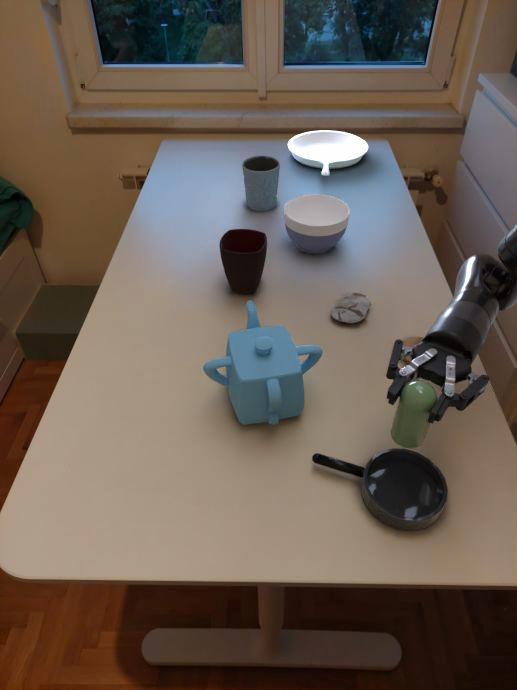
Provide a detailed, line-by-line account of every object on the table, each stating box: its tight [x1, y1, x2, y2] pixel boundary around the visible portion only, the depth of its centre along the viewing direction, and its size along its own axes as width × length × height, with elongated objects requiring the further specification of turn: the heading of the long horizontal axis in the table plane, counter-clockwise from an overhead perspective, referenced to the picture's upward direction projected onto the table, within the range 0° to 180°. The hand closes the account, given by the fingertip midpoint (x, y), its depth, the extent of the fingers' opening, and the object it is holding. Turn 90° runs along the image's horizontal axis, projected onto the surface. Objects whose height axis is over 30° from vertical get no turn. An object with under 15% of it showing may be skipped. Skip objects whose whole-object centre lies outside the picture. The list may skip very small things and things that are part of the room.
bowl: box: [283, 193, 351, 255], centre depth 124 cm, size 16×16×10 cm
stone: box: [330, 292, 372, 324], centre depth 106 cm, size 10×7×3 cm
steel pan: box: [360, 447, 449, 532], centre depth 75 cm, size 12×12×3 cm
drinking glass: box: [241, 155, 281, 212], centre depth 138 cm, size 10×10×12 cm
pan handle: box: [311, 452, 365, 479], centre depth 77 cm, size 9×2×2 cm, turn 69°
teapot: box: [202, 300, 323, 426], centre depth 86 cm, size 18×16×14 cm
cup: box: [218, 228, 268, 295], centre depth 111 cm, size 10×14×12 cm
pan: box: [287, 129, 369, 177], centre depth 161 cm, size 26×39×5 cm
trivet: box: [402, 336, 424, 366], centre depth 97 cm, size 8×8×1 cm
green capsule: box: [389, 379, 439, 449], centre depth 69 cm, size 5×5×10 cm
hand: (411, 409), depth 65 cm, fingers closed on green capsule, 4 cm apart
